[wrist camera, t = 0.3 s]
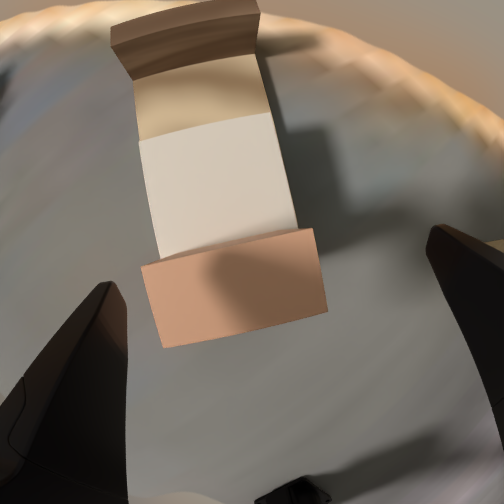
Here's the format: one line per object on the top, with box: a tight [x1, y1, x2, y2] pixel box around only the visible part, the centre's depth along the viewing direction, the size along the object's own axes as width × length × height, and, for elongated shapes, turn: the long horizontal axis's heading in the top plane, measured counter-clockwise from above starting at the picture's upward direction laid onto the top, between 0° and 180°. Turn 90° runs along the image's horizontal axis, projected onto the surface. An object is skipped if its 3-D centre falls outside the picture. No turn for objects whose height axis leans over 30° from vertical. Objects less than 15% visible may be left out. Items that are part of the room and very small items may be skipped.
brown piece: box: [139, 112, 328, 348], centre depth 15 cm, size 10×8×11 cm
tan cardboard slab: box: [111, 0, 299, 229], centre depth 19 cm, size 23×10×6 cm, turn 12°
